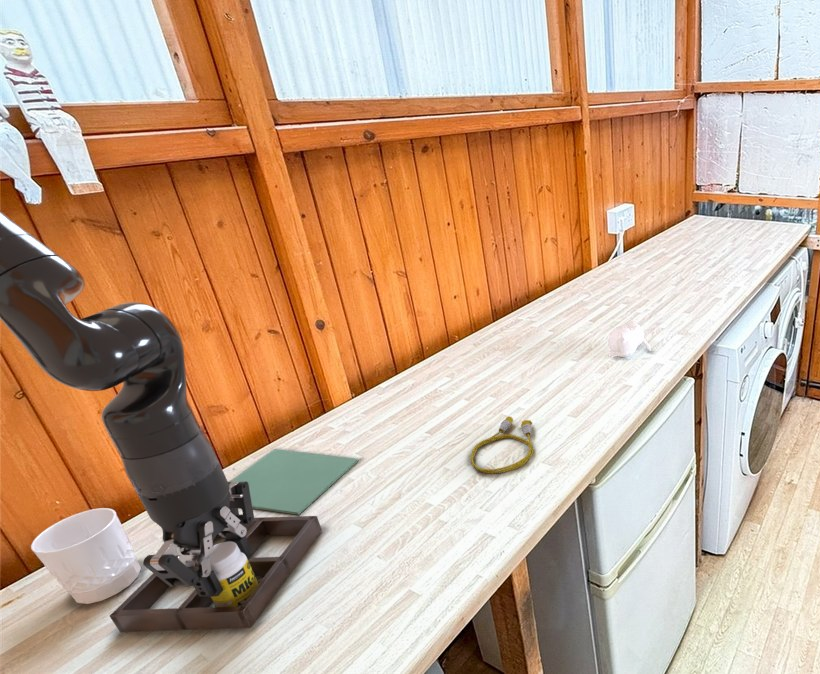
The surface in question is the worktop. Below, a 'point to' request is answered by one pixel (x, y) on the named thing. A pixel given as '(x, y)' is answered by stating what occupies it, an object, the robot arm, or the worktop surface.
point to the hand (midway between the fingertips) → (228, 575)
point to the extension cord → (503, 427)
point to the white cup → (88, 555)
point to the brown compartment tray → (196, 609)
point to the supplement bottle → (232, 575)
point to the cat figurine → (626, 340)
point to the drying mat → (292, 479)
